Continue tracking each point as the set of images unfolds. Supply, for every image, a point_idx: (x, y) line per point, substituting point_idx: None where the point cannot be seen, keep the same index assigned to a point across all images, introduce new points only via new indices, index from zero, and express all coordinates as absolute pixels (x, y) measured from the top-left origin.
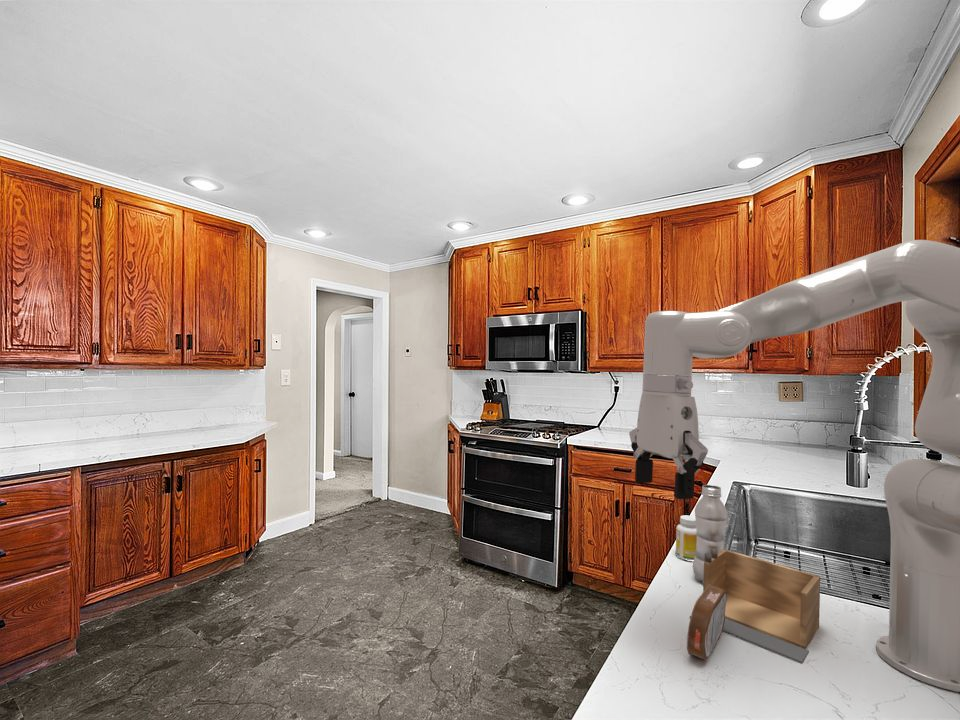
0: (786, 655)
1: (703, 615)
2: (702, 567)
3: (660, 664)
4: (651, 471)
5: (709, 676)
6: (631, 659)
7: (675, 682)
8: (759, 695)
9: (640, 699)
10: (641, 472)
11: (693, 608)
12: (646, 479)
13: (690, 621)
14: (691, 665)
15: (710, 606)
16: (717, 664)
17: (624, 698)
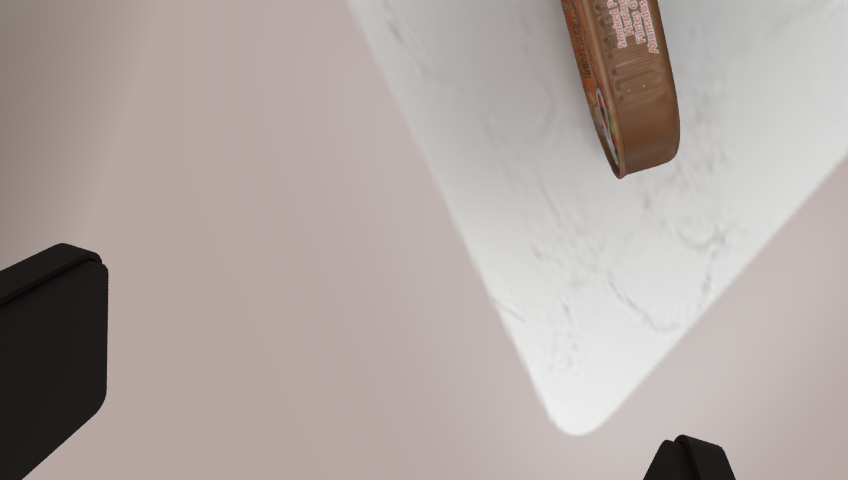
0: None
1: (657, 144)
2: None
3: (565, 216)
4: (7, 328)
5: None
6: (509, 261)
7: (631, 247)
8: (810, 104)
9: (614, 358)
10: (24, 446)
11: (618, 150)
12: (85, 342)
13: (622, 174)
14: None
15: (662, 93)
16: None
17: (591, 381)
